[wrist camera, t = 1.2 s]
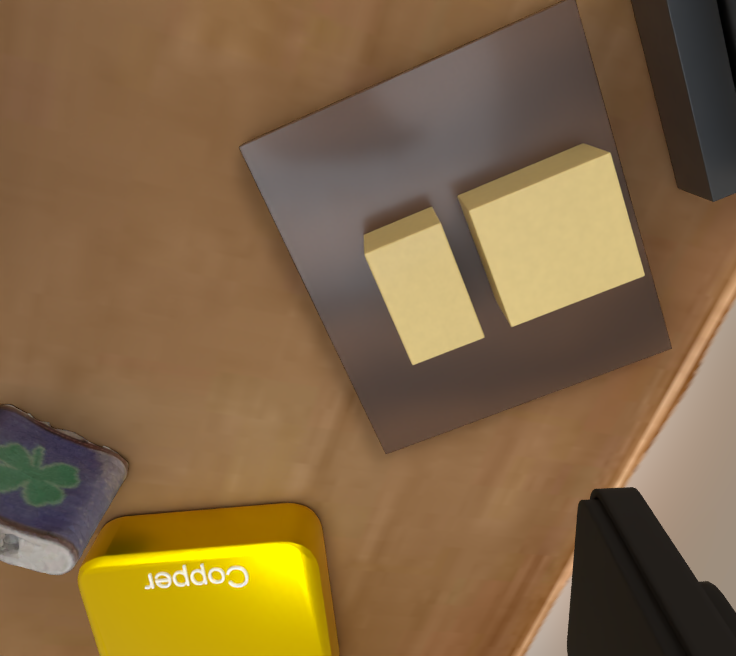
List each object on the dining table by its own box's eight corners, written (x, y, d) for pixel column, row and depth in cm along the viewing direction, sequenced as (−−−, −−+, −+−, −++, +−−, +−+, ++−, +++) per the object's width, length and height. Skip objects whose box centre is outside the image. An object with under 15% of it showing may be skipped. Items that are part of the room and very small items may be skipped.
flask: (136, 458, 43) (68, 577, 33) (118, 492, 44) (47, 618, 34) (-5, 395, 41) (-122, 500, 31) (-20, 431, 42) (-138, 545, 32)
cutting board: (242, 143, 36) (238, 146, 35) (565, -1, 34) (574, -4, 32) (384, 441, 43) (385, 454, 41) (661, 338, 41) (672, 348, 39)
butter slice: (363, 234, 36) (363, 254, 33) (431, 205, 36) (440, 222, 32) (407, 337, 39) (412, 366, 35) (472, 311, 38) (485, 337, 34)
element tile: (319, 497, 44) (314, 545, 40) (342, 666, 50) (340, 726, 45) (93, 516, 45) (64, 566, 40) (141, 682, 50) (120, 743, 46)
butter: (456, 195, 36) (468, 210, 32) (583, 142, 35) (610, 151, 31) (496, 302, 38) (511, 328, 34) (616, 254, 37) (645, 276, 33)
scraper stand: (615, -59, 33) (649, -75, 29) (717, -106, 32) (764, -128, 28) (677, 188, 37) (713, 202, 34) (767, 152, 37) (814, 162, 33)
